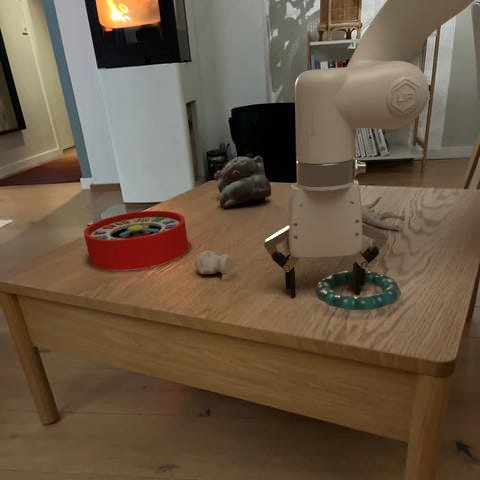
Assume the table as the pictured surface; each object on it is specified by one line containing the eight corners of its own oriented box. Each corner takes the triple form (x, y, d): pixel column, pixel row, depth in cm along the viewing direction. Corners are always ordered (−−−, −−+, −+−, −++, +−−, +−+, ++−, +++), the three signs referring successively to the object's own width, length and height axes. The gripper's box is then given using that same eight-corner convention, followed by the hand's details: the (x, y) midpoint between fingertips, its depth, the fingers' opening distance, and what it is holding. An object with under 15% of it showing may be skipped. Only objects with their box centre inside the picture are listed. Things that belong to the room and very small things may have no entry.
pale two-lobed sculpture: (193, 278, 86) (213, 262, 88) (220, 289, 80) (241, 271, 82) (184, 258, 83) (205, 242, 85) (211, 268, 78) (233, 251, 80)
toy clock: (129, 208, 107) (203, 213, 98) (134, 233, 110) (206, 241, 101) (61, 235, 92) (141, 245, 83) (69, 263, 95) (147, 276, 85)
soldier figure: (387, 239, 95) (337, 215, 100) (389, 248, 100) (341, 224, 105) (409, 207, 95) (358, 184, 100) (410, 218, 100) (361, 195, 105)
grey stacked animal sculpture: (211, 210, 122) (200, 157, 122) (230, 216, 133) (220, 168, 133) (265, 192, 116) (253, 137, 116) (280, 200, 127) (269, 150, 127)
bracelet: (389, 280, 76) (390, 266, 75) (408, 315, 65) (409, 299, 64) (313, 284, 77) (313, 270, 76) (319, 318, 66) (319, 303, 65)
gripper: (386, 164, 65) (378, 279, 73) (260, 172, 67) (266, 284, 75) (398, 175, 59) (388, 300, 67) (258, 184, 60) (265, 305, 68)
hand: (324, 291), depth 71 cm, fingers open, 9 cm apart
